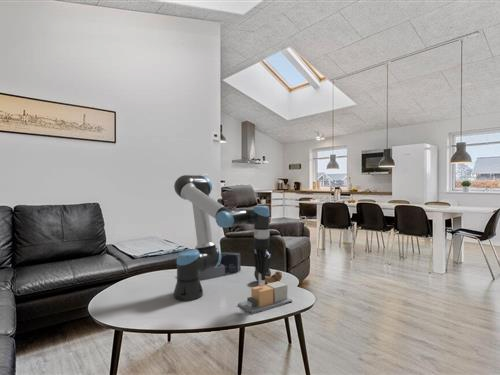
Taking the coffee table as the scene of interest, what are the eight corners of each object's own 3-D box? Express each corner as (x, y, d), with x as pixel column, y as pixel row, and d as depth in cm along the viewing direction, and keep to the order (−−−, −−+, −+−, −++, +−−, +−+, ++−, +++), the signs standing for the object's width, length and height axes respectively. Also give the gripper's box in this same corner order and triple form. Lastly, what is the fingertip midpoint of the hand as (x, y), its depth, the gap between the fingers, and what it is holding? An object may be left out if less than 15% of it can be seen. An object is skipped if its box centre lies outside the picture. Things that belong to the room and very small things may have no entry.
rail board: (238, 305, 142) (238, 288, 142) (276, 294, 155) (276, 279, 155) (252, 313, 132) (252, 296, 132) (292, 302, 145) (292, 285, 145)
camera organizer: (183, 275, 191) (183, 266, 191) (213, 269, 204) (213, 261, 204) (193, 281, 178) (193, 271, 178) (225, 275, 190) (224, 266, 190)
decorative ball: (256, 285, 170) (256, 268, 170) (252, 280, 180) (252, 264, 180) (273, 284, 173) (273, 267, 173) (268, 279, 182) (268, 262, 182)
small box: (241, 270, 202) (240, 252, 202) (237, 273, 196) (237, 255, 196) (223, 268, 206) (223, 251, 206) (219, 271, 199) (219, 254, 199)
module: (251, 302, 143) (251, 287, 143) (264, 298, 148) (264, 284, 148) (259, 306, 137) (259, 291, 137) (273, 303, 142) (273, 288, 142)
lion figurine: (280, 285, 170) (280, 269, 170) (283, 288, 165) (283, 272, 165) (255, 287, 168) (255, 271, 168) (257, 290, 162) (257, 274, 162)
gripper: (247, 236, 146) (247, 283, 146) (263, 240, 135) (263, 291, 135) (260, 235, 150) (260, 281, 150) (276, 238, 139) (276, 288, 139)
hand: (261, 286), depth 143 cm, fingers closed
